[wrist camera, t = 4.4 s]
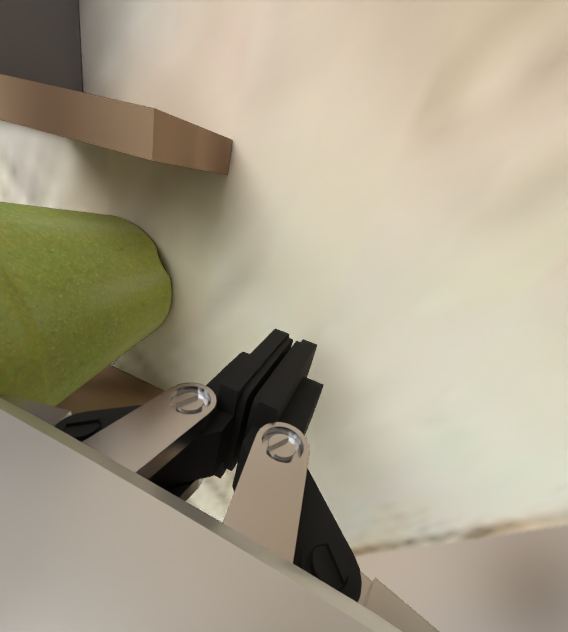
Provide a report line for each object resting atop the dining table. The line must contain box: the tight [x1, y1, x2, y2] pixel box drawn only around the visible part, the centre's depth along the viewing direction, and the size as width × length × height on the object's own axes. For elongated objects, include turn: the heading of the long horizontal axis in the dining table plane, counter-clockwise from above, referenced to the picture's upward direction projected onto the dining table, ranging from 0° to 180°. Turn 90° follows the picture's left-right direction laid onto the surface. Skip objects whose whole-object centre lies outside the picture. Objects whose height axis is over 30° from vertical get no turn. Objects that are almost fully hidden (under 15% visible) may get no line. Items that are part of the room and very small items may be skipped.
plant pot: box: [0, 202, 172, 407], centre depth 11 cm, size 9×9×9 cm
